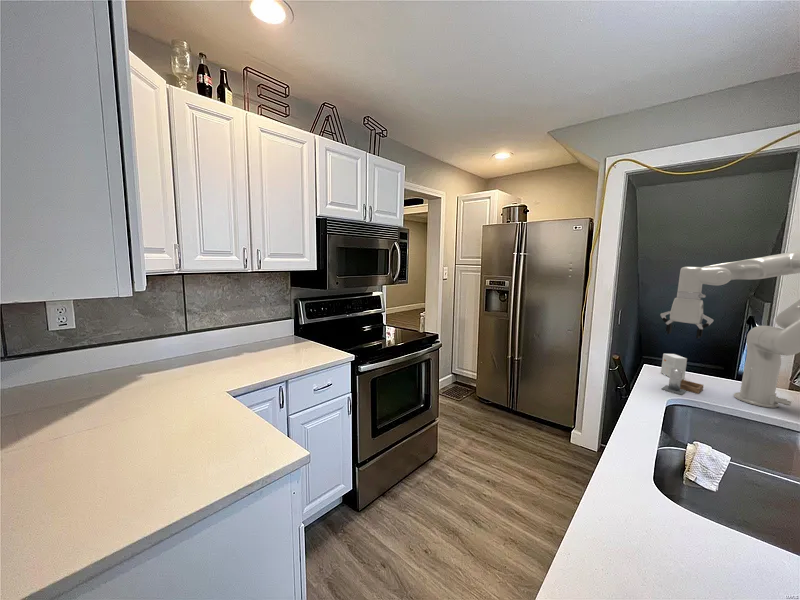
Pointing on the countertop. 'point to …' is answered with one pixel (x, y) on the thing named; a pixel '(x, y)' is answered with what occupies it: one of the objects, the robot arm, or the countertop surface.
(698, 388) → the frame
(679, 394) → the pad
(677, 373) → the peg
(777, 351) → the robot arm
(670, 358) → the small box
